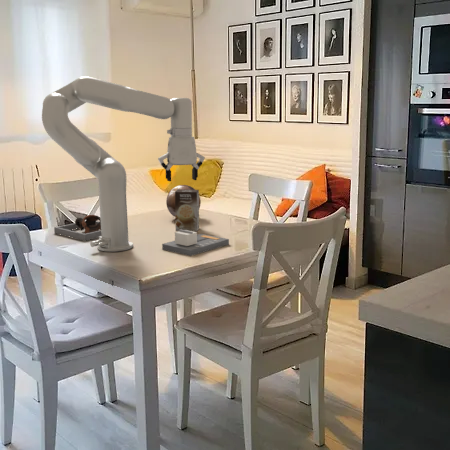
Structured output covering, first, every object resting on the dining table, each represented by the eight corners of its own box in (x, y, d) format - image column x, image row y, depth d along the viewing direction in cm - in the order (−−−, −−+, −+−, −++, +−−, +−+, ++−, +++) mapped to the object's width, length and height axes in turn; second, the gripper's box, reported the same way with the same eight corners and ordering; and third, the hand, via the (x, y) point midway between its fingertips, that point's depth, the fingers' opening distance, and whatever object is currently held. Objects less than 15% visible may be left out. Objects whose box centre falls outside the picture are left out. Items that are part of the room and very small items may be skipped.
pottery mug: (106, 231, 243) (107, 215, 237) (97, 246, 236) (98, 230, 230) (79, 223, 243) (78, 208, 238) (69, 237, 236) (68, 222, 231)
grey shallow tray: (84, 241, 224) (84, 234, 223) (54, 233, 237) (54, 227, 236) (122, 232, 237) (121, 226, 237) (91, 225, 250) (91, 219, 250)
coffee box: (175, 231, 238) (173, 191, 235) (177, 227, 245) (176, 189, 241) (197, 231, 237) (196, 191, 234) (199, 227, 244) (199, 189, 240)
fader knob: (187, 246, 206) (186, 233, 205) (175, 243, 210) (174, 230, 209) (197, 243, 209) (196, 230, 208) (185, 240, 213) (184, 228, 212)
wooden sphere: (159, 219, 260) (158, 185, 257) (182, 214, 272) (181, 181, 269) (185, 223, 251) (184, 188, 248) (207, 217, 263) (207, 184, 260)
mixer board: (190, 256, 202) (190, 250, 201) (162, 249, 211) (162, 243, 210) (228, 244, 217) (228, 238, 216) (200, 238, 226) (200, 233, 225)
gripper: (160, 134, 206) (161, 182, 210) (207, 133, 212) (207, 180, 216) (155, 132, 213) (156, 180, 217) (200, 132, 219) (200, 178, 223)
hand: (181, 180), depth 216 cm, fingers open, 9 cm apart
